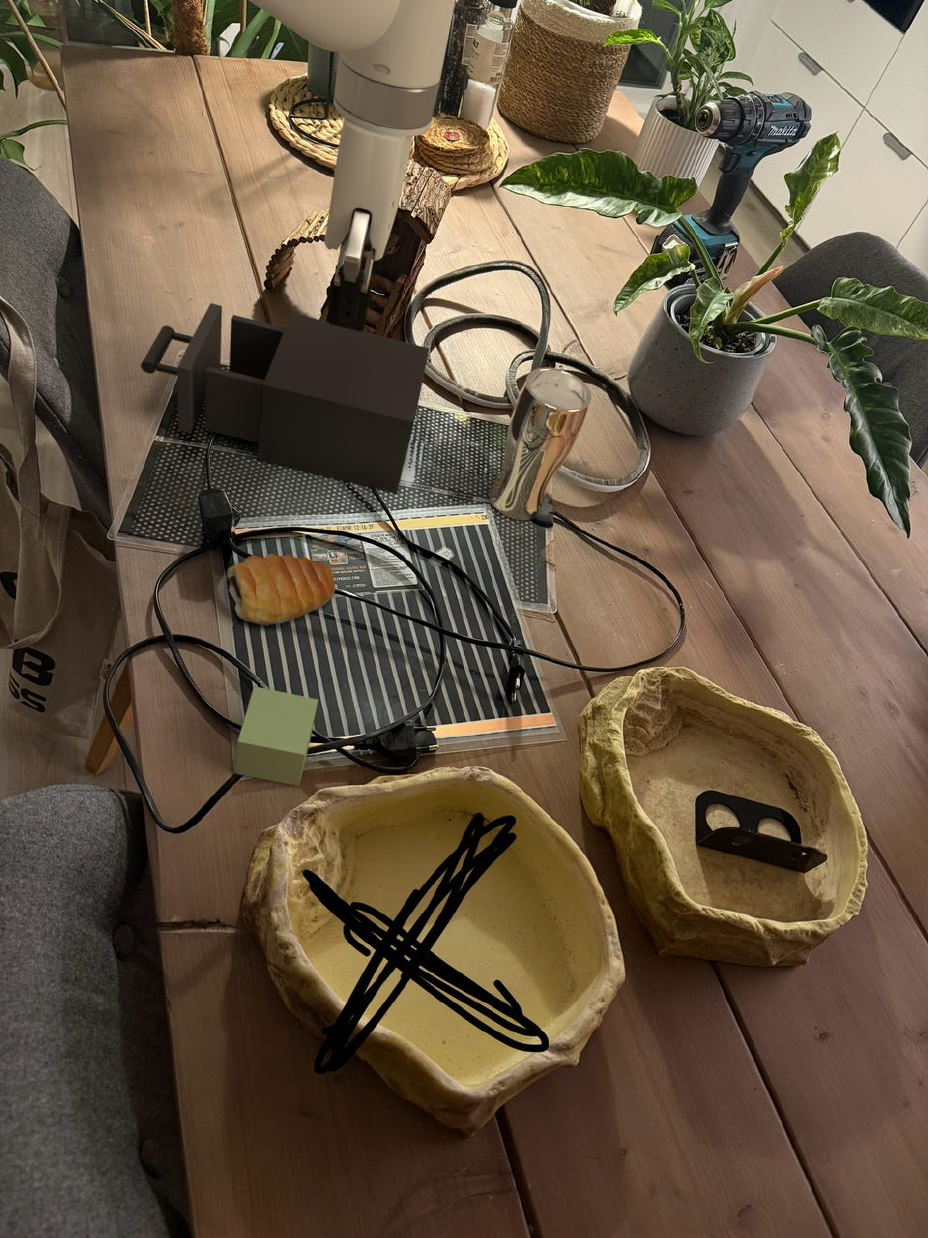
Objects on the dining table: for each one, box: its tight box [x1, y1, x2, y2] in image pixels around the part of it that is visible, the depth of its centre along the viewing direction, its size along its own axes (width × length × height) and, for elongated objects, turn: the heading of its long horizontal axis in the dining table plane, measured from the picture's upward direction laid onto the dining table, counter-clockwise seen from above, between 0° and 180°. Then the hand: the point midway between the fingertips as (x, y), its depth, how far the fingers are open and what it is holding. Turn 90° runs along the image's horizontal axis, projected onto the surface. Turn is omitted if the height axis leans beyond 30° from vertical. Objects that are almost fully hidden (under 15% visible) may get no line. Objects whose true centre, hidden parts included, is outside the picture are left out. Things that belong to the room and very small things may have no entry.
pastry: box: [226, 553, 336, 626], centre depth 78 cm, size 9×7×4 cm
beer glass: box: [488, 367, 592, 521], centre depth 90 cm, size 7×7×15 cm
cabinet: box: [257, 312, 430, 494], centre depth 91 cm, size 15×13×10 cm
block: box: [234, 686, 319, 787], centre depth 68 cm, size 5×5×5 cm
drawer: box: [140, 302, 286, 444], centre depth 90 cm, size 18×11×8 cm, turn 84°
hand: (354, 296), depth 79 cm, fingers open, 9 cm apart
